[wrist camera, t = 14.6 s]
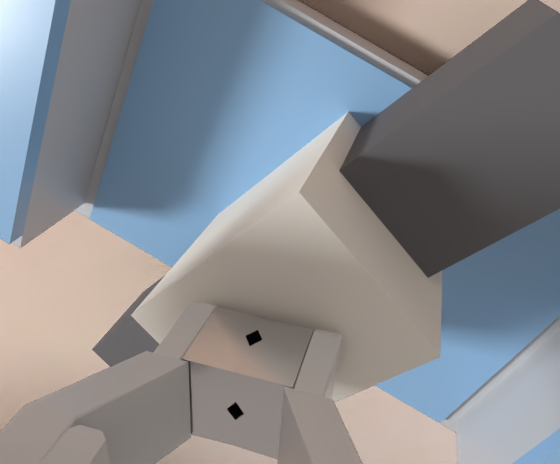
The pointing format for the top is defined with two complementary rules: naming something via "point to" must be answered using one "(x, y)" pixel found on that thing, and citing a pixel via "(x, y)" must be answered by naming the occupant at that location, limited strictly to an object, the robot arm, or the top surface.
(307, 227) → the grey post with collar
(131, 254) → the top surface
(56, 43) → the slider rail
